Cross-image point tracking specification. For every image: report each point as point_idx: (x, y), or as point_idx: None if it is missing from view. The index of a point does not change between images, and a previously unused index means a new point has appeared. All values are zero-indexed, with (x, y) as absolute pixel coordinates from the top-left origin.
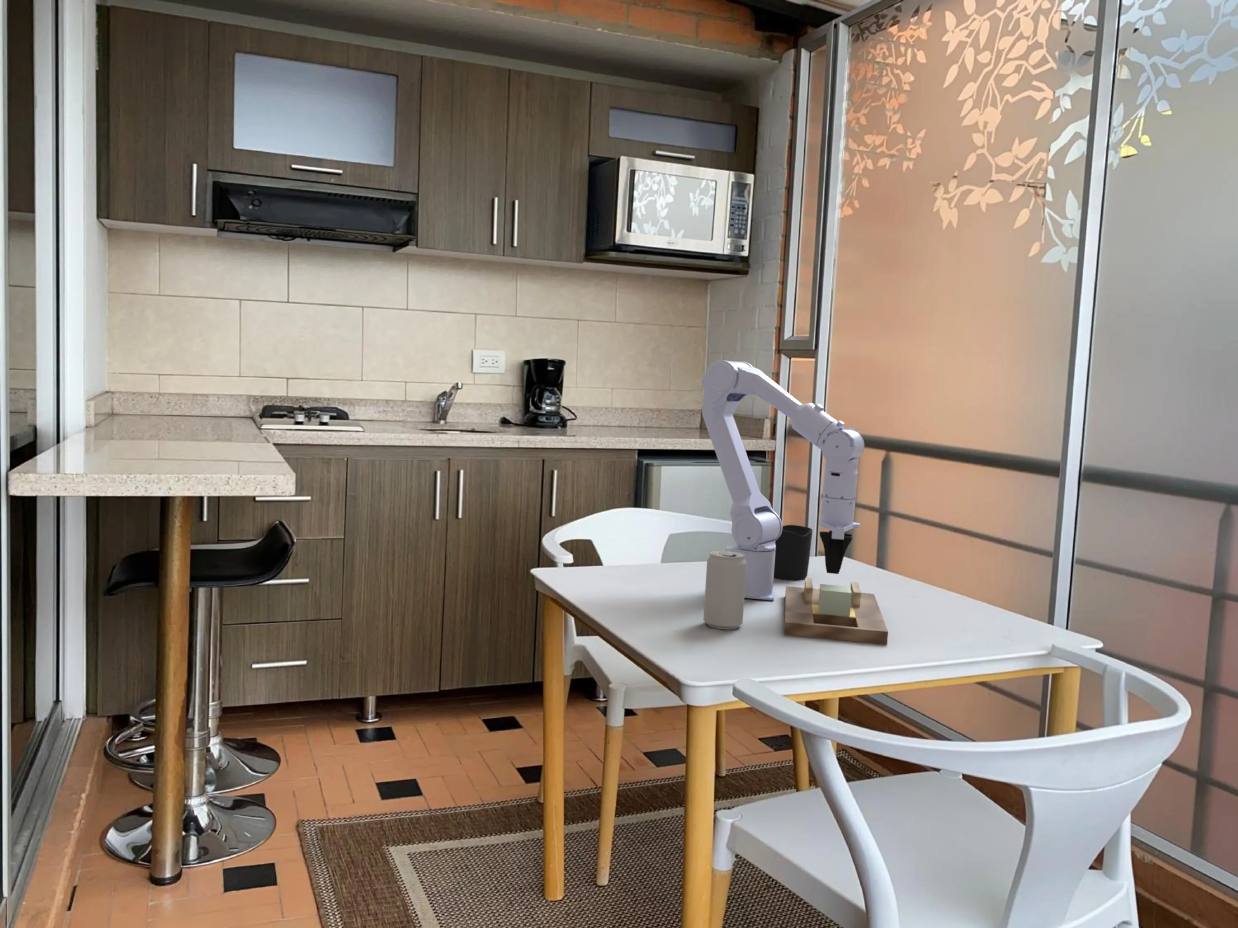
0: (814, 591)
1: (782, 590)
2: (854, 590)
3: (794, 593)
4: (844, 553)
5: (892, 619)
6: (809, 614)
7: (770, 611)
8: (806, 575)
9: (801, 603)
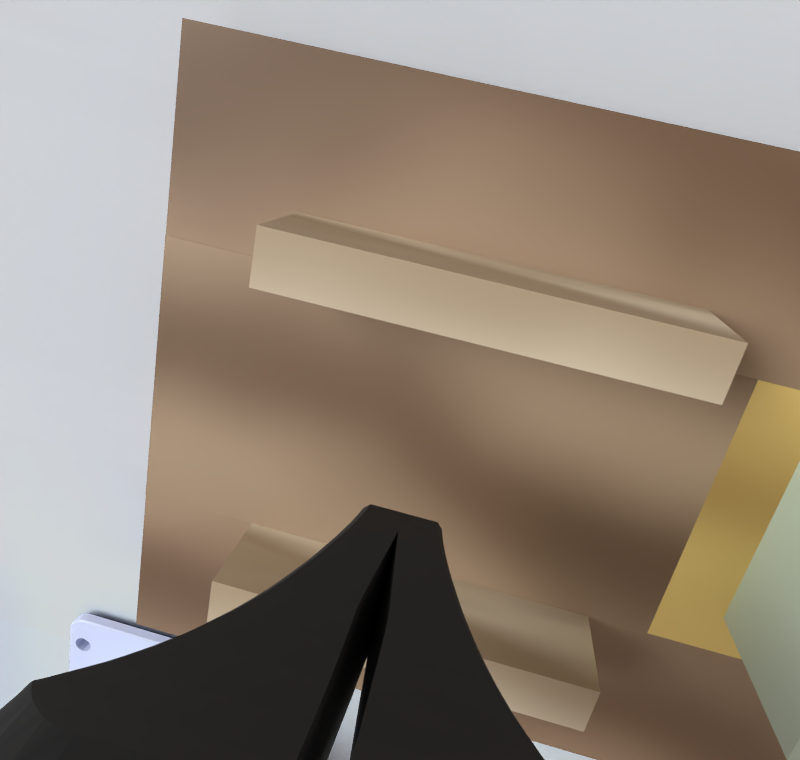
0: (241, 497)
1: (15, 549)
2: (647, 377)
3: None
4: (487, 674)
5: (711, 6)
6: None
7: (542, 751)
8: None
9: (619, 683)
